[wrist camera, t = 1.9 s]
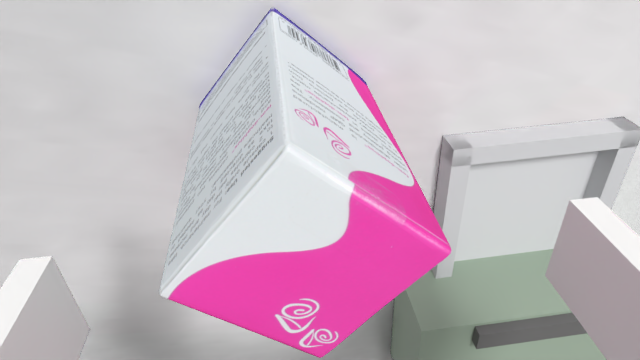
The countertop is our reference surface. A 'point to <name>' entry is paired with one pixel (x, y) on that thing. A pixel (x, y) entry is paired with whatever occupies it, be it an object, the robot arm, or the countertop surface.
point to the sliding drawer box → (509, 242)
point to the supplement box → (296, 199)
